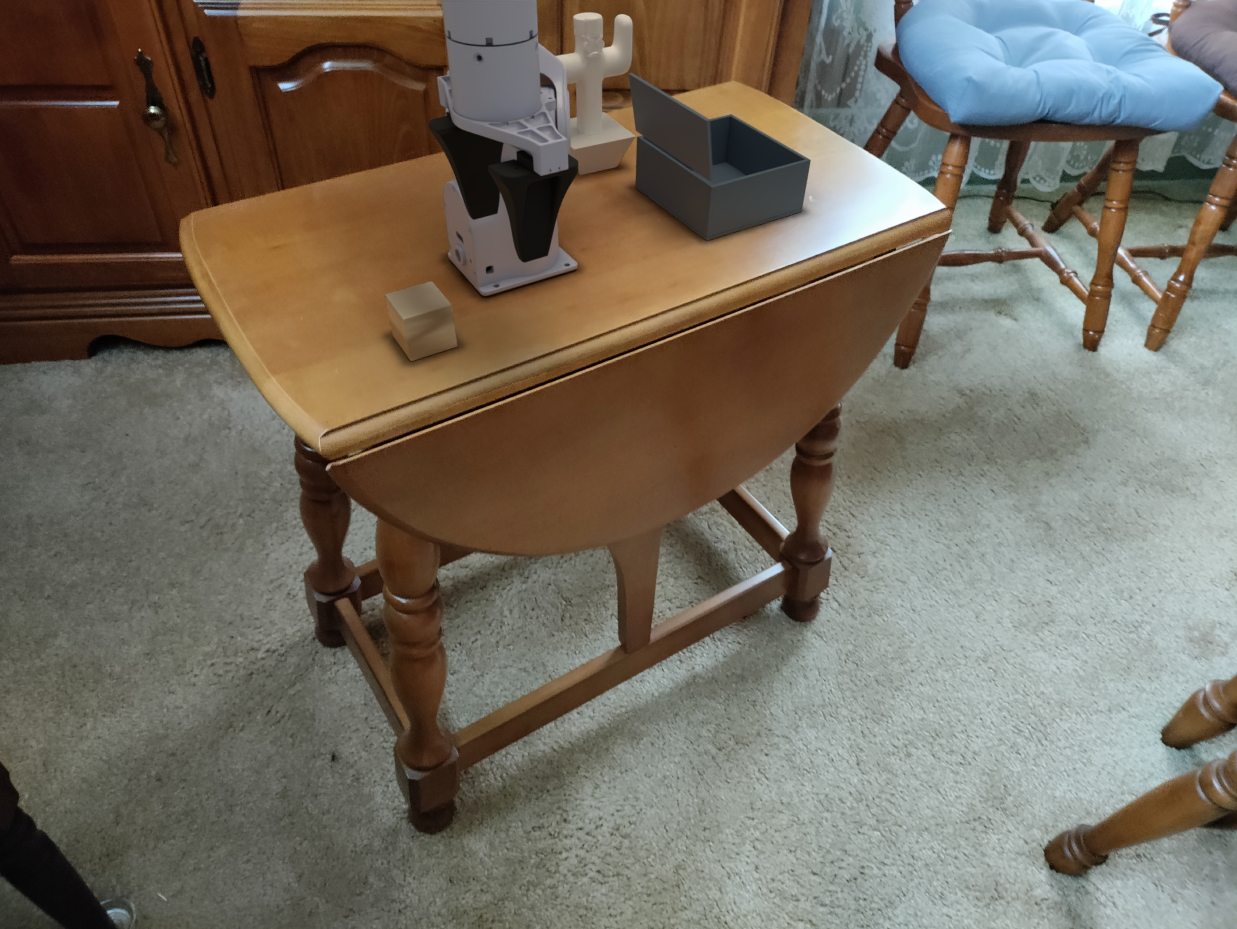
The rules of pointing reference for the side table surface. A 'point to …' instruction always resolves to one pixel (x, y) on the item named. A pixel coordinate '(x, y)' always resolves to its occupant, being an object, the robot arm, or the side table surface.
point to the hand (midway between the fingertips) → (507, 235)
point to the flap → (672, 126)
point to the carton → (726, 180)
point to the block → (421, 320)
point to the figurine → (597, 91)
